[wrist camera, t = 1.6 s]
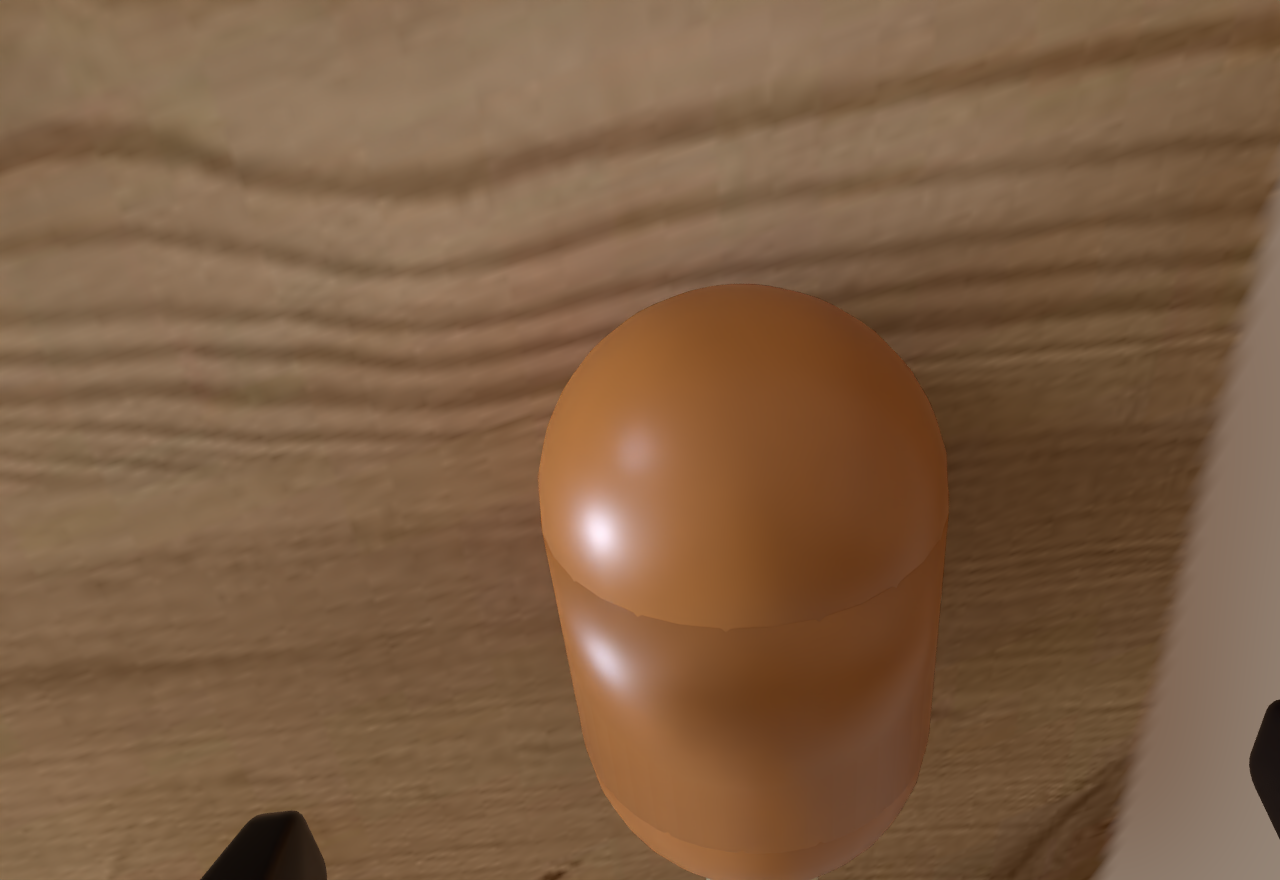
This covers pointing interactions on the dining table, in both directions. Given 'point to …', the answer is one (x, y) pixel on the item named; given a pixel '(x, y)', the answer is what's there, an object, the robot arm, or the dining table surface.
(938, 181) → the dining table surface
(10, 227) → the dining table surface
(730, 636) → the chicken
